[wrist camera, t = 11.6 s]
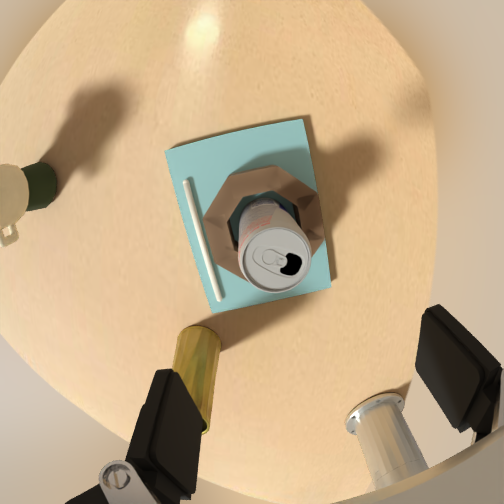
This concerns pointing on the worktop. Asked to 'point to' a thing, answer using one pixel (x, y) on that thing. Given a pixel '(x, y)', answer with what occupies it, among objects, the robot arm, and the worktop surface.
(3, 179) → the character mug
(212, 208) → the brown octagonal ring
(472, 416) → the robot arm
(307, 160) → the teal rectangular slab
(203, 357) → the vase
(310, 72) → the worktop surface
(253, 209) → the energy drink
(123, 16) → the worktop surface
